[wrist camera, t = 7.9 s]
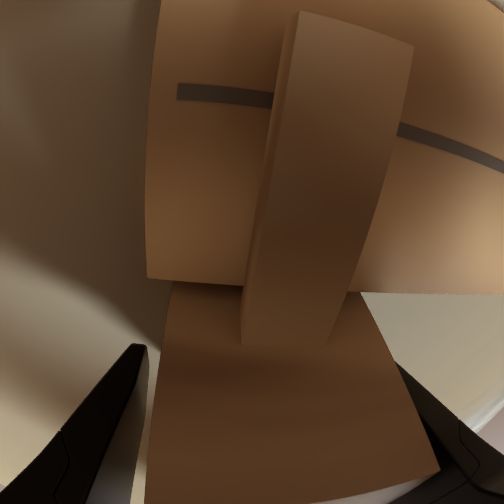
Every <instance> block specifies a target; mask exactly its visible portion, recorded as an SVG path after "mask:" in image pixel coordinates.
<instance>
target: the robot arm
mask: <svg viewBox="0 0 504 504" xmlns="http://www.w3.org/2000/svg"><path fill="white" fill-rule="evenodd" d="M395 363H396V362H395ZM396 366H397V368H398V370H399V372H400V374H401V376H402V379H403V381H404V383H405V385H406V387H407V390H408V392H409V394H410V396H411V399H412V401H413V403H414V406H415V408H416V410H417V412H418V415H419V417H420V420H421V422H422V424H423V427H424V429H425V432H426V434H427V437H428V439H429V441H430V444H431V447H432V449H433V452H434V454H435V457H436V459H437V462H438V465H439V467H440V471H439V472H437V473H436V474H435V475H433V476H432V477H430V478H429V479H427V480H426V481H424V482H423V483H421V484H420V485H418V486H417V487H415V488H413V489H412V490H410V491H409V492H407V493H405V494H404V495H402V496H400V497H399V498H397V499H395V500H394V501H392V502H390V503H388V504H504V455H503V454H501V453H500V452H499V451H497V450H496V449H495V448H493V447H492V446H491V445H489V444H488V443H487V442H485V441H484V440H483V439H482V438H480V437H479V436H478V435H477V434H476V433H474V432H473V431H472V430H471V429H470V428H469V427H467V426H466V425H465V424H464V423H463V422H462V421H461V420H458V418H457V417H456V416H455V415H454V414H453V413H452V412H451V411H450V410H449V409H448V408H446V407H445V406H444V405H443V404H442V403H441V402H440V401H439V400H438V399H437V398H435V397H434V396H433V395H432V394H431V393H430V392H429V391H428V390H427V389H425V388H424V387H423V386H422V385H421V384H420V383H419V382H418V381H417V380H415V379H414V378H413V377H412V376H411V375H410V374H409V373H408V372H407V371H405V370H404V369H403V368H402V367H401V366H400V365H399V364H398V363H396ZM148 377H149V359H148V352H147V347H146V345H144V344H136V343H132V344H131V345H130V346H129V347H128V348H127V349H126V350H125V351H124V353H123V354H122V355H121V356H120V357H119V359H118V360H117V361H116V362H115V363H114V364H113V366H112V367H111V368H110V369H109V370H108V372H107V373H106V374H105V375H104V376H103V378H102V379H101V380H100V381H99V382H98V384H97V385H96V386H95V387H94V388H93V390H92V391H91V392H90V393H89V394H88V396H87V397H86V398H85V399H84V400H83V402H82V403H81V404H80V405H79V407H78V408H77V409H76V410H75V411H74V413H73V414H72V415H71V416H70V418H69V419H68V420H67V421H66V423H65V424H64V425H63V426H62V427H61V429H60V430H61V431H58V432H57V433H56V435H55V436H54V437H53V439H52V440H51V441H50V442H49V443H48V445H47V446H46V447H45V448H44V449H43V450H42V452H41V453H40V454H39V455H38V456H37V457H36V458H35V459H34V460H33V461H32V462H31V463H30V464H29V465H28V466H27V467H26V468H25V469H24V470H23V471H22V472H21V473H20V474H19V475H18V476H17V477H16V478H15V479H14V480H13V481H12V482H11V483H10V484H9V485H8V486H6V487H5V488H4V489H3V490H2V491H1V492H0V504H130V499H131V493H132V487H133V480H134V474H135V469H136V463H137V457H138V452H139V447H140V441H141V436H142V431H143V426H144V420H145V412H146V400H147V388H148Z"/></svg>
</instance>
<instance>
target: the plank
mask: <svg viewBox="0 0 504 504" xmlns="http://www.w3.org/2000/svg"><path fill="white" fill-rule="evenodd" d="M298 11H305V12H309V13H313V14H318V15H322V16H326V17H329V18H333V19H337V20H340V21H344V22H347V23H350V24H354V25H357V26H360V27H363V28H366V29H369V30H372V31H375V32H378V33H381V34H384V35H386V36H389V37H392V38H394V39H397V40H399V41H402V42H404V43H407V44H409V45H412V46H414V51H413V57H412V63H411V69H410V74H409V79H408V84H407V89H406V94H405V99H404V104H403V108H402V113H401V117H400V122H399V126H398V130H397V134H396V138H395V142H394V146H393V150H392V154H391V158H390V162H389V165H388V169H387V173H386V176H385V180H384V183H383V187H382V190H381V193H380V197H379V200H378V203H377V207H376V210H375V213H374V216H373V219H372V223H371V226H370V229H369V232H368V235H367V238H366V241H365V244H364V247H363V250H362V252H361V255H360V258H359V261H358V264H357V267H356V269H355V272H354V275H353V278H352V280H351V283H350V286H349V288H348V291H352V292H381V293H419V294H504V13H503V12H502V11H501V10H499V9H498V8H497V7H495V6H494V5H493V4H491V3H490V2H489V1H487V0H162V2H161V7H160V13H159V20H158V26H157V33H156V40H155V47H154V55H153V64H152V73H151V83H150V94H149V106H148V120H147V137H146V162H145V244H146V269H147V278H150V279H161V280H173V281H185V282H198V283H211V284H225V285H239V286H244V279H245V273H246V267H247V261H248V254H249V248H250V242H251V236H252V229H253V223H254V217H255V211H256V204H257V198H258V192H259V186H260V180H261V173H262V167H263V161H264V155H265V149H266V143H267V136H268V130H269V124H270V118H271V112H272V106H273V99H274V93H275V87H276V81H277V75H278V69H279V63H280V57H281V51H282V45H283V39H284V33H285V26H286V21H287V20H288V19H290V18H291V17H292V16H293V15H295V14H296V13H297V12H298Z"/></svg>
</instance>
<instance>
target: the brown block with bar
mask: <svg viewBox="0 0 504 504" xmlns="http://www.w3.org/2000/svg"><path fill="white" fill-rule="evenodd" d="M413 51H414V46H412V45H409V44H407V43H404V42H402V41H399V40H397V39H394V38H392V37H389V36H386V35H384V34H381V33H378V32H375V31H372V30H369V29H366V28H363V27H360V26H357V25H354V24H350V23H347V22H344V21H340V20H337V19H333V18H329V17H326V16H322V15H318V14H313V13H309V12H305V11H298V12H297V13H296V14H295V15H293V16H292V17H291V18H290V19H288V20H287V21H286V26H285V33H284V39H283V45H282V51H281V57H280V63H279V69H278V75H277V81H276V87H275V93H274V99H273V106H272V112H271V118H270V124H269V130H268V136H267V143H266V149H265V155H264V161H263V167H262V173H261V180H260V186H259V192H258V198H257V204H256V211H255V217H254V223H253V229H252V236H251V242H250V248H249V254H248V261H247V267H246V273H245V279H244V286H239V285H225V284H211V283H198V282H185V281H173V286H172V292H171V297H170V302H169V308H168V313H167V319H166V325H165V330H164V336H163V342H162V349H161V355H160V361H159V368H158V375H157V382H156V389H155V397H154V404H153V412H152V421H151V430H150V439H149V449H148V459H147V471H146V483H145V498H144V504H388V503H390V502H392V501H394V500H395V499H397V498H399V497H400V496H402V495H404V494H405V493H407V492H409V491H410V490H412V489H413V488H415V487H417V486H418V485H420V484H421V483H423V482H424V481H426V480H427V479H429V478H430V477H432V476H433V475H435V474H436V473H437V472H439V471H440V467H439V465H438V462H437V459H436V457H435V454H434V452H433V449H432V447H431V444H430V441H429V439H428V437H427V434H426V432H425V429H424V427H423V424H422V422H421V420H420V417H419V415H418V412H417V410H416V408H415V406H414V403H413V401H412V399H411V396H410V394H409V392H408V390H407V387H406V385H405V383H404V381H403V379H402V376H401V374H400V372H399V370H398V368H397V366H396V363H395V361H394V359H393V357H392V355H391V353H390V351H389V349H388V347H387V345H386V343H385V341H384V338H383V336H382V334H381V332H380V330H379V328H378V326H377V324H376V322H375V320H374V318H373V316H372V314H371V313H370V311H369V309H368V307H367V305H366V303H365V301H364V299H363V297H362V295H361V293H360V292H352V291H348V288H349V286H350V283H351V280H352V278H353V275H354V272H355V269H356V267H357V264H358V261H359V258H360V255H361V252H362V250H363V247H364V244H365V241H366V238H367V235H368V232H369V229H370V226H371V223H372V219H373V216H374V213H375V210H376V207H377V203H378V200H379V197H380V193H381V190H382V187H383V183H384V180H385V176H386V173H387V169H388V165H389V162H390V158H391V154H392V150H393V146H394V142H395V138H396V134H397V130H398V126H399V122H400V117H401V113H402V108H403V104H404V99H405V94H406V89H407V84H408V79H409V74H410V69H411V63H412V57H413Z"/></svg>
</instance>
